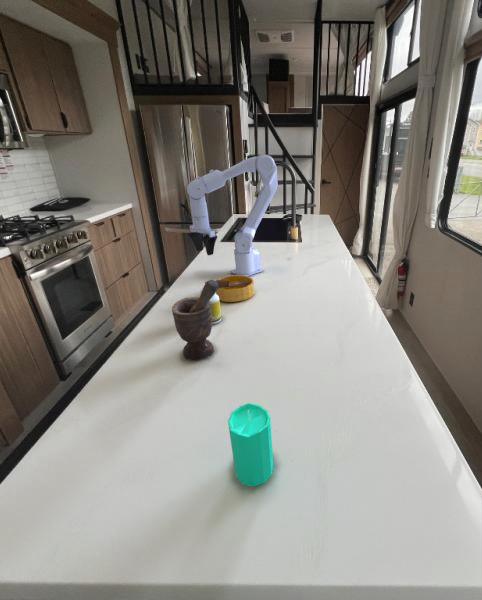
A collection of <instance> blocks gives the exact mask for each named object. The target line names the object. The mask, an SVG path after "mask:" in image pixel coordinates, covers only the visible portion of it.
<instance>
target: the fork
mask: <svg viewBox="0 0 482 600" xmlns="http://www.w3.org/2000/svg"><path fill="white" fill-rule="evenodd" d="M215 281H216V282H217V283H218V288H224V287H229V286H235V285H245V284H249V282H246V281H243V282H236V283H233V284H229V280H227V279H224V280H217V279H215ZM206 282H207V281H205V282H204V284H205V283H206ZM218 288H217V289H218Z"/></svg>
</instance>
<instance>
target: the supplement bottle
mask: <svg viewBox="0 0 482 600" xmlns="http://www.w3.org/2000/svg"><path fill="white" fill-rule="evenodd" d="M202 289H203V287H202V288H201V289H200V293H201V292H202ZM209 301H210V303H211V314H212V325H215V324H218V323H220V322H221V321H222V318H223V317H222V309H221V302H220V301H221V300H219V296H218V295H216V293H215V294H214V295H213V297H212V298H211V299H210V300H209Z"/></svg>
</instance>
